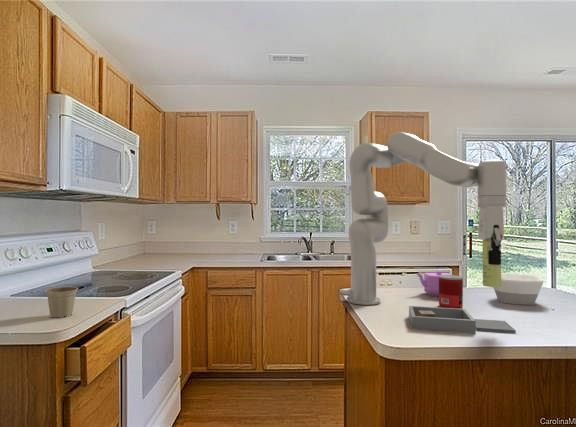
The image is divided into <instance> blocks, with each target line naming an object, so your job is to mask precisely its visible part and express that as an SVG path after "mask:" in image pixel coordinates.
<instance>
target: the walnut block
mask: <svg viewBox="0 0 576 427" xmlns="http://www.w3.org/2000/svg"><path fill="white" fill-rule="evenodd" d="M418 316H421V317H436V314H435V313H433V312H432V311H419V310H418Z"/></svg>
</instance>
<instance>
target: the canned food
mask: <svg viewBox="0 0 576 427" xmlns="http://www.w3.org/2000/svg"><path fill="white" fill-rule="evenodd" d="M463 286H464V281H463V276H461V275H455V274H451V275H440V276H439V295H438V305H439V306H438V307H439V308H456V309H463V302H464V301H463V300H464V298H463V296H464V295H463V294H464V292H463V290H464V288H463Z"/></svg>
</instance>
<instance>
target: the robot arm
mask: <svg viewBox="0 0 576 427" xmlns="http://www.w3.org/2000/svg"><path fill="white" fill-rule="evenodd" d="M404 162H408V163H410V164H411V165H413V166H416V167H417V168H419V169H421V170H422V171H424V172H426V173H427V174H428V175H430V176H432V177H435V178H436V179H439V180H441V181H443V182H444V183H447V184H449V185H452V186H457V187H462V188H463V187H464V188H473V187H476V189H477V208H479V212H478V230H477V232H478V233H477V234H478V235H477V238H478V239H479V240H481V241H483V240H485V241H487V240H488V239H489V249H490V251H488V264H490V265H501V266H502V241H503V240H504V236H505V222H504V208H506V207H507V164H506V163H505V161H504V160H500V159H491V160H483V161H480V162H478V163H472V162H467V161H463V160H460V159H458V158H455V157H453V156H451V155H448V154H446V153H444V152H442V151H440V150H438V149H437V146H436V145H434V144H433V143H430V142H427V141H425V140H423V139H420V138H419V137H418V136H416V135H415V134H411V133H409V132H408V133H407V132H404V131H397V132H394V133H392V134H390V136H389V137H388V139H387V141H386V145H383V144H378V143H373V142H365V143H361V144H359V145H358V146H357V147H356V148H354V150H353V151H352V153H351V155H350V158H349V166H348V167H349V174H350V175H349V176H350V199H351V200H350V201H351V209H352V211H353V213H355V215H358V216H359V215H360V216H366V218H359V219H356V220H354V221H352V222H351V223H350V225H349V228H348V240H349V244H350V245H349V246H350V288H349V289H339V294H338V295H341V296H342V297H343V296H345V297H346V302H348V303H350V304H353V305H361V306H372V305H378V304H380V303H381V298H380V297H377V252H376V248H375V243H376V244H377V243H381V242H383V241H384V240H386V239H387V237H388V235H389V234H388V233H389V208H388V206H389V205H388V201H387V199H386V197H385V195H384V194H383V193H382V192H380V191H375V189H374V176H373V174H372V171H371V167H373V168H378V169H379V168H380V169H389V168H391V167H394V166H398V165H400V164H403V163H404ZM491 238H495V240H491ZM492 243H493V245H492Z"/></svg>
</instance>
